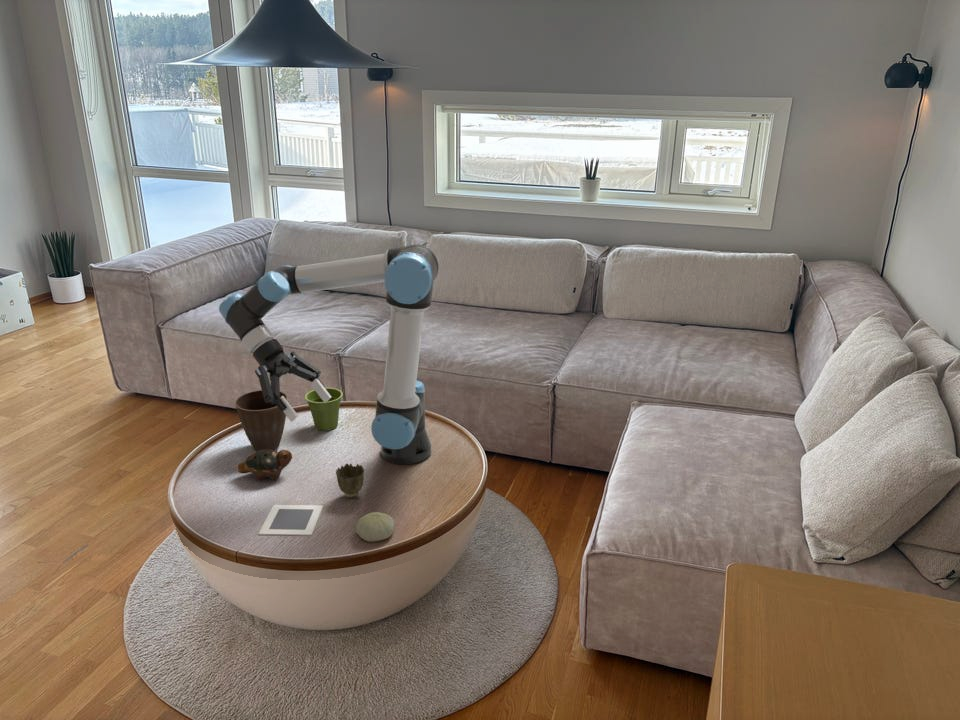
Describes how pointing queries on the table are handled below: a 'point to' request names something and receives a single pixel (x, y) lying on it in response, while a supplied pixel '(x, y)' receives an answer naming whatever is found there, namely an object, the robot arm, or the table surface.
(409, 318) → the robot arm
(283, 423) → the plant pot
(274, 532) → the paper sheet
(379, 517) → the sea urchin shell
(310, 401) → the plant pot
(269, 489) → the table surface
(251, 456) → the decorative turtle
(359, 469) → the cup
